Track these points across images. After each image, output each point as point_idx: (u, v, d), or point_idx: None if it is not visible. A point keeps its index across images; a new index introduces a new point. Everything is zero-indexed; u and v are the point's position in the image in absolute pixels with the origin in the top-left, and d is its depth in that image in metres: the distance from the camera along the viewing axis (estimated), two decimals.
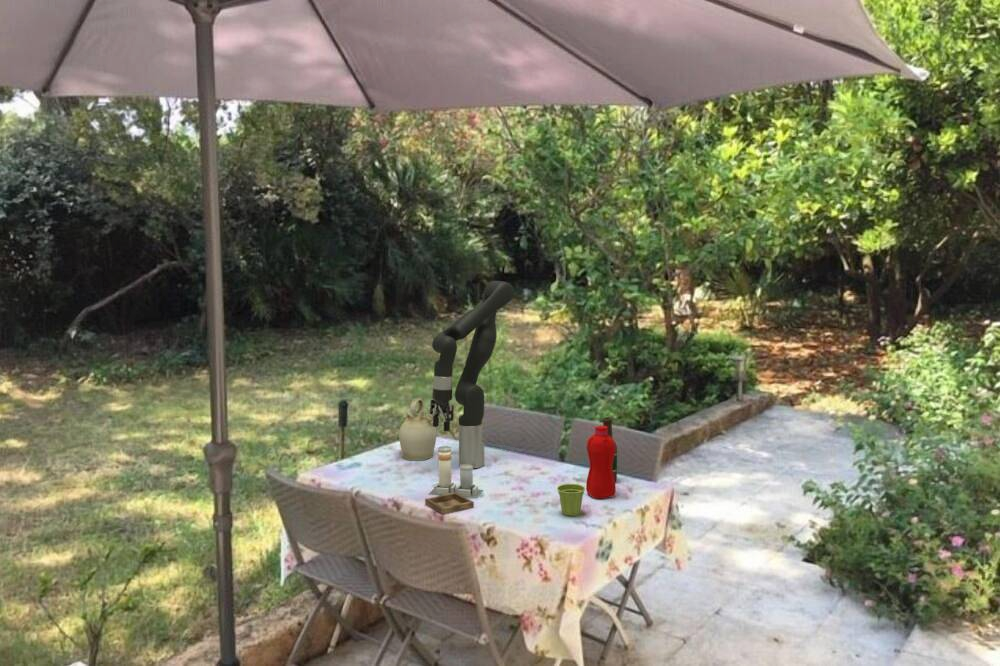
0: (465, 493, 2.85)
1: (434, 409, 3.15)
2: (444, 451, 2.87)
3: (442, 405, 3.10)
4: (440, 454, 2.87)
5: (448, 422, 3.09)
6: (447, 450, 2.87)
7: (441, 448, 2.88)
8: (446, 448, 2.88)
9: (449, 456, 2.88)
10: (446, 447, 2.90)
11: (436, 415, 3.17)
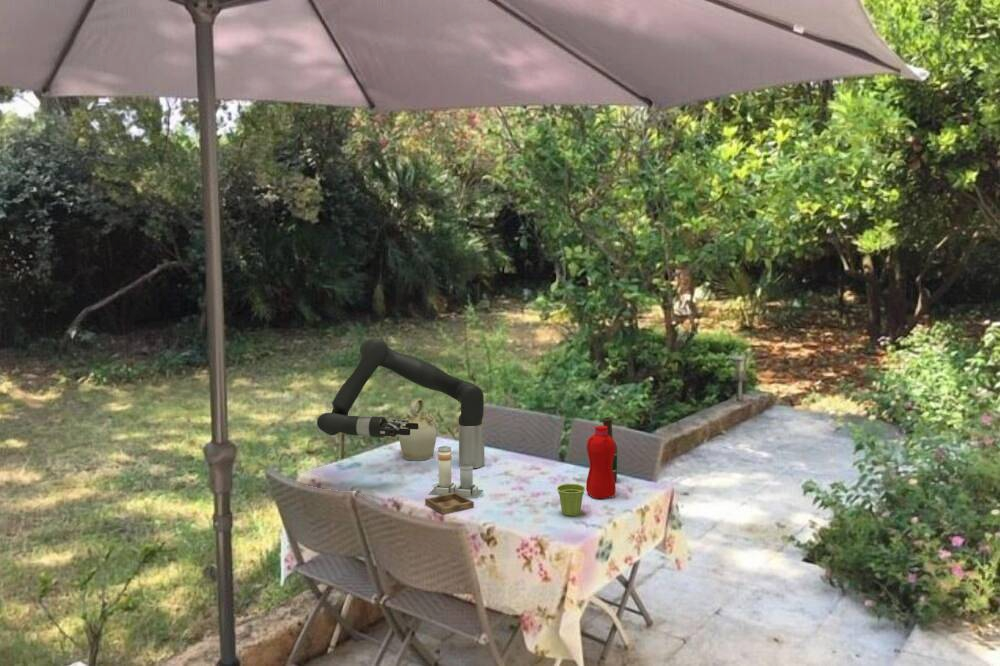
0: (465, 493, 2.85)
1: None
2: (444, 451, 2.87)
3: None
4: (440, 454, 2.87)
5: (399, 431, 2.86)
6: (447, 450, 2.87)
7: (441, 448, 2.88)
8: (446, 448, 2.88)
9: (449, 456, 2.88)
10: (446, 447, 2.89)
11: (406, 425, 2.96)
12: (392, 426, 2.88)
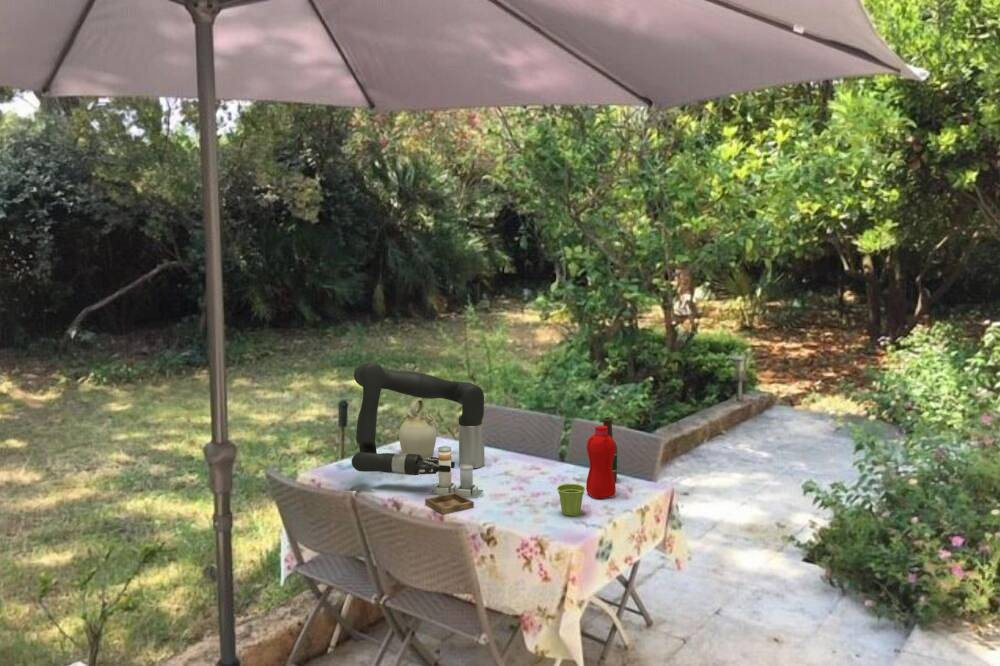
0: (465, 493, 2.85)
1: None
2: (444, 451, 2.87)
3: None
4: (440, 454, 2.87)
5: (440, 468, 2.87)
6: (447, 450, 2.87)
7: (441, 448, 2.88)
8: (446, 448, 2.88)
9: (449, 456, 2.88)
10: (446, 447, 2.90)
11: None
12: (431, 463, 2.88)
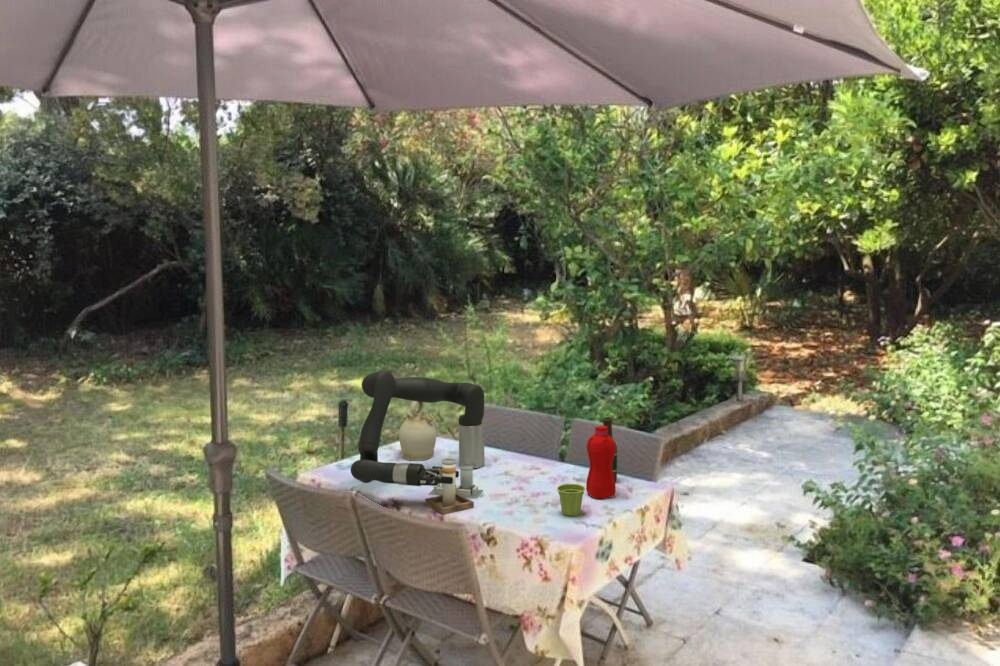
0: (465, 493, 2.85)
1: None
2: (448, 464, 2.72)
3: None
4: (444, 467, 2.72)
5: (442, 479, 2.71)
6: (452, 463, 2.72)
7: (445, 460, 2.73)
8: (450, 460, 2.73)
9: (454, 469, 2.73)
10: (450, 459, 2.74)
11: None
12: (432, 474, 2.72)
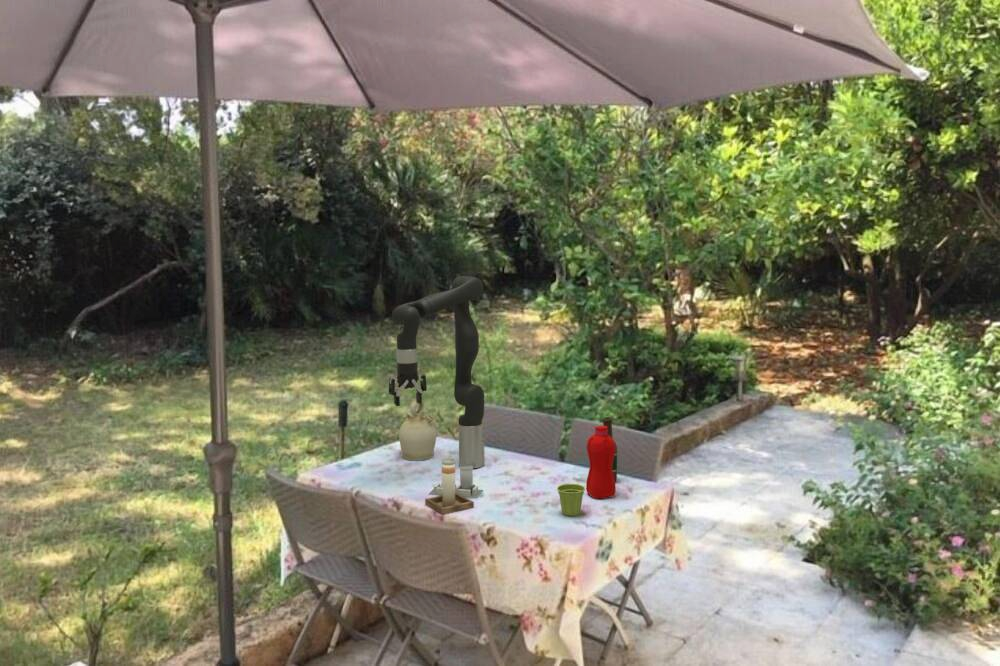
0: (465, 493, 2.85)
1: None
2: (448, 464, 2.72)
3: None
4: (444, 467, 2.72)
5: (395, 397, 2.95)
6: (451, 463, 2.72)
7: (445, 460, 2.73)
8: (450, 460, 2.73)
9: (453, 469, 2.73)
10: (450, 459, 2.75)
11: (418, 391, 3.00)
12: (400, 388, 2.94)
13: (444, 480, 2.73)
